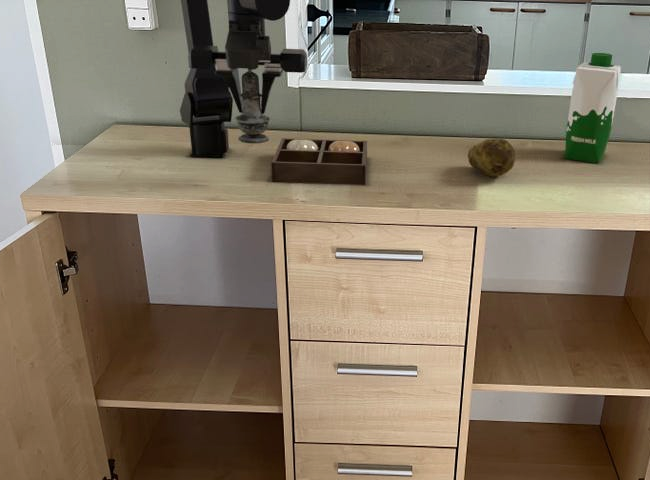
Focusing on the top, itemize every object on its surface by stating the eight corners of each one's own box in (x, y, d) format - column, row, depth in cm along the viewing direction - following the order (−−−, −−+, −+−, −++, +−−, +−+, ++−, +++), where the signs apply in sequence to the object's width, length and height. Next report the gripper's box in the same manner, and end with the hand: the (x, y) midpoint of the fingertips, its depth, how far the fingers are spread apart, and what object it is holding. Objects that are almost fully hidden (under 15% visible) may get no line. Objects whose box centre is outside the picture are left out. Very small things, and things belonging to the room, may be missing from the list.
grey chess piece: (274, 136, 134) (271, 64, 127) (266, 145, 129) (262, 70, 122) (241, 134, 134) (236, 62, 128) (232, 142, 129) (226, 68, 123)
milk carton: (608, 154, 162) (626, 55, 152) (601, 165, 154) (619, 61, 144) (567, 149, 164) (582, 50, 154) (559, 159, 157) (573, 56, 147)
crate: (272, 181, 137) (271, 162, 136) (282, 155, 152) (281, 138, 150) (365, 184, 138) (365, 165, 136) (366, 158, 153) (367, 140, 151)
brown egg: (327, 166, 147) (326, 143, 144) (328, 160, 150) (328, 137, 148) (360, 167, 147) (360, 145, 145) (360, 161, 151) (360, 139, 148)
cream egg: (284, 165, 146) (284, 142, 144) (287, 159, 150) (286, 136, 148) (318, 166, 147) (317, 143, 144) (319, 160, 150) (319, 137, 148)
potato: (507, 168, 150) (512, 127, 146) (514, 188, 139) (519, 144, 135) (465, 166, 150) (469, 125, 146) (469, 186, 139) (473, 142, 135)
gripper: (175, 16, 114) (186, 122, 122) (300, 21, 115) (303, 126, 123) (191, 7, 123) (200, 106, 131) (306, 12, 124) (308, 110, 132)
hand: (252, 112), depth 129 cm, fingers closed on grey chess piece, 3 cm apart
